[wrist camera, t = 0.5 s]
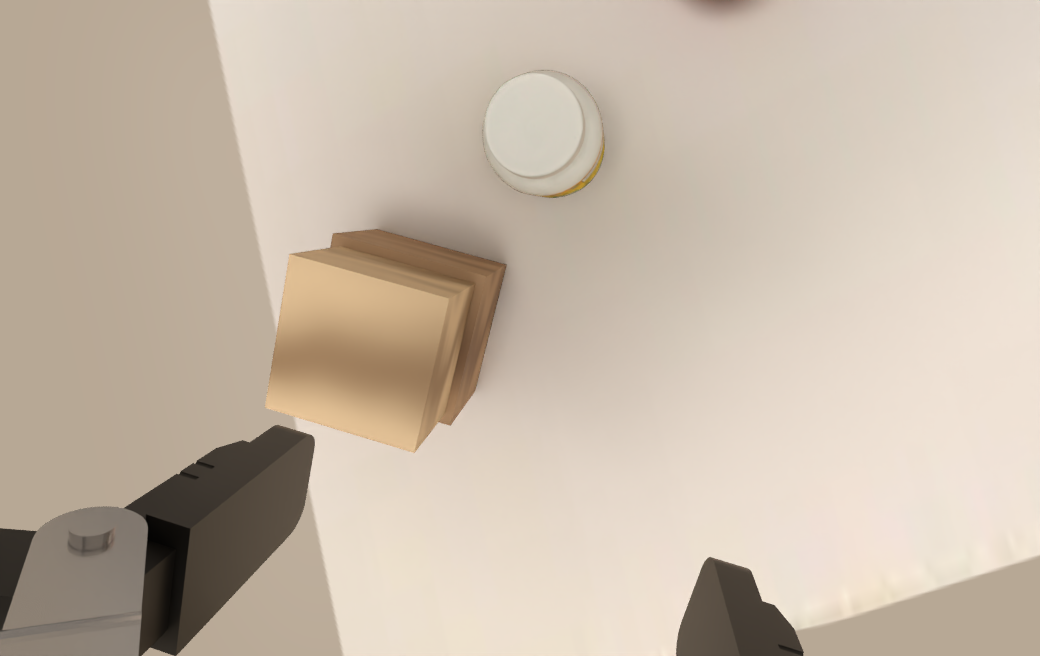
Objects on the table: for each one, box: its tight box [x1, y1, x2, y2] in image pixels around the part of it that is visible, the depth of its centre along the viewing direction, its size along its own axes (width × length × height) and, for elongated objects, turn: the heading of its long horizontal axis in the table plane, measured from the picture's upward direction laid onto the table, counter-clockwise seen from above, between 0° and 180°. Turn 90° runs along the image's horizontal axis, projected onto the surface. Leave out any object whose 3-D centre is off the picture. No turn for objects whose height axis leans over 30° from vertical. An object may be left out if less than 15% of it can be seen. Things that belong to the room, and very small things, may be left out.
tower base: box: [330, 229, 506, 425], centre depth 33 cm, size 8×8×6 cm
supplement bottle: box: [483, 70, 605, 198], centre depth 28 cm, size 5×5×10 cm
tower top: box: [265, 246, 475, 453], centre depth 28 cm, size 7×7×5 cm
